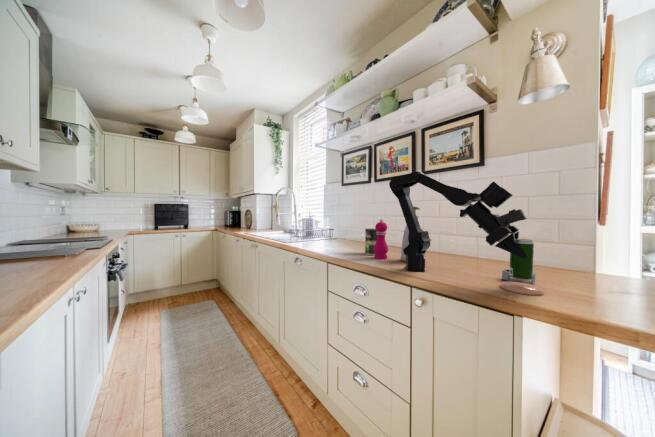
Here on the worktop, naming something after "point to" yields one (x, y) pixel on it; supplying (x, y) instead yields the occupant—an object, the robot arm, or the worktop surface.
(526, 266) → the beer can
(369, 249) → the coffee can
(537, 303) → the worktop surface
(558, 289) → the worktop surface
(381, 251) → the pepper mill
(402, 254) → the soap bottle
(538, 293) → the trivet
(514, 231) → the robot arm
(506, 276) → the collar
